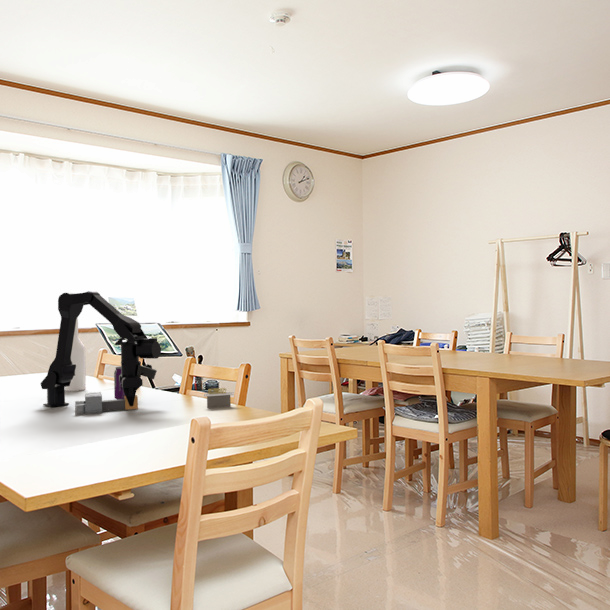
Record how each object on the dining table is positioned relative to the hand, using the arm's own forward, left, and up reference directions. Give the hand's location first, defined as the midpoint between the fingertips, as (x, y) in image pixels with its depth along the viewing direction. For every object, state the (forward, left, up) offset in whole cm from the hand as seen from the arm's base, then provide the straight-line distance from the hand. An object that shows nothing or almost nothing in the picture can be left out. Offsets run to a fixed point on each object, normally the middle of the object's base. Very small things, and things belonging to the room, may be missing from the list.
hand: (130, 405), depth 195 cm
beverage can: (-20, +10, -1) cm, 22 cm away
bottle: (-61, +12, -1) cm, 62 cm away
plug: (-2, -4, -1) cm, 5 cm away
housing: (-6, -12, -1) cm, 13 cm away
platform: (+21, +20, -2) cm, 29 cm away
